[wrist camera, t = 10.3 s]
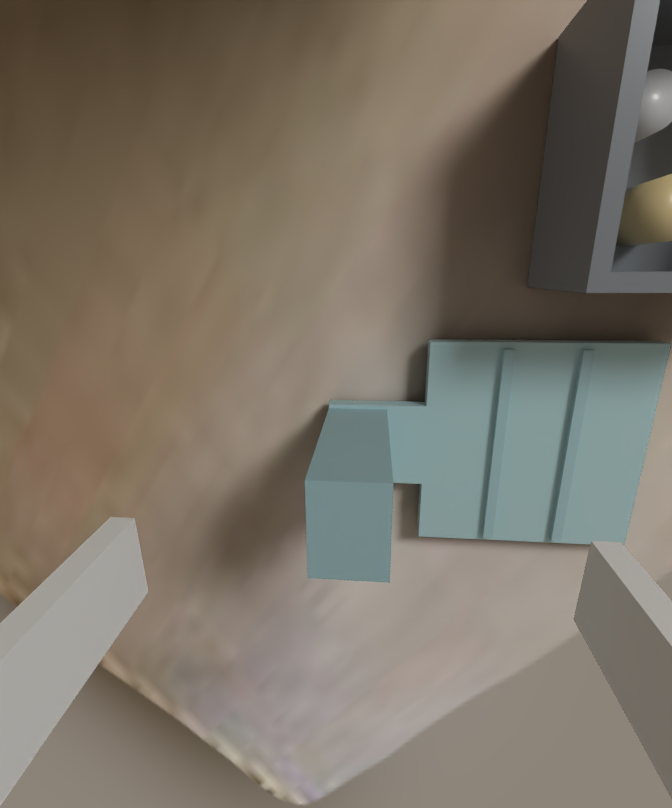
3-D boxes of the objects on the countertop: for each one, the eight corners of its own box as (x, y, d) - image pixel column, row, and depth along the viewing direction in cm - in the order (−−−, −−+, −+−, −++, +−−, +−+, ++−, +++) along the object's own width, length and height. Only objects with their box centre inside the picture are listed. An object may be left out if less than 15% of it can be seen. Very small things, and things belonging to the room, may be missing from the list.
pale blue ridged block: (329, 338, 22) (301, 380, 13) (660, 340, 20) (860, 389, 12) (331, 524, 25) (309, 651, 17) (616, 536, 24) (748, 682, 15)
